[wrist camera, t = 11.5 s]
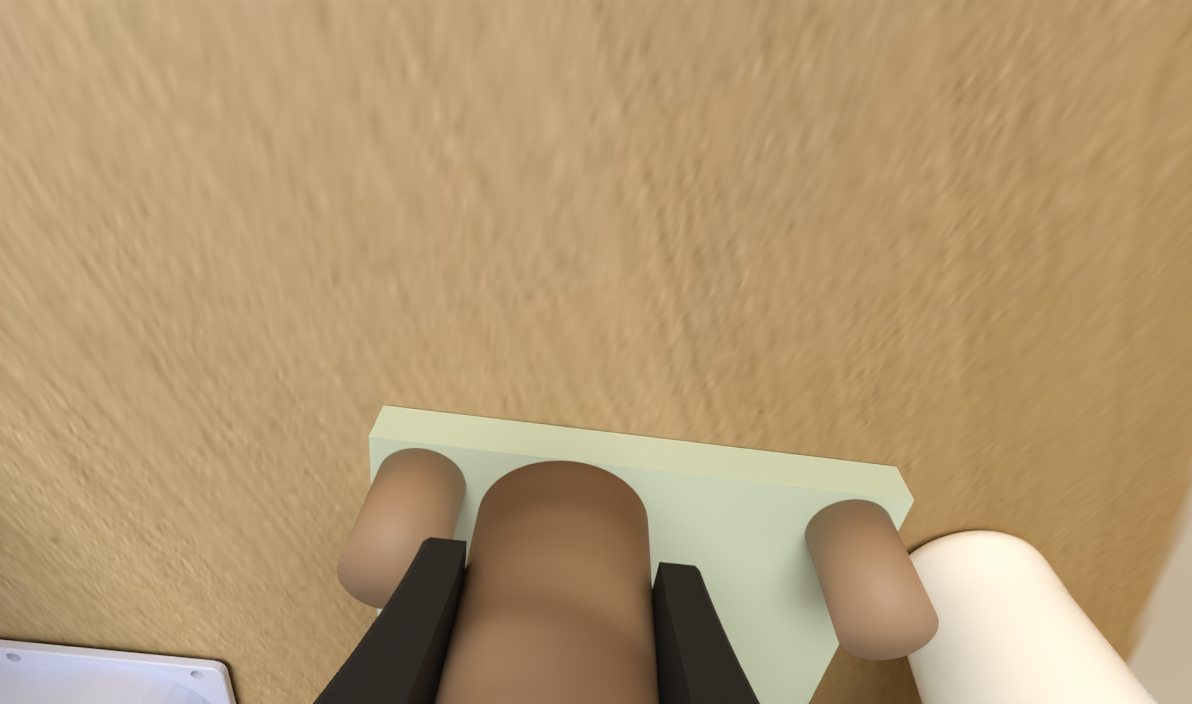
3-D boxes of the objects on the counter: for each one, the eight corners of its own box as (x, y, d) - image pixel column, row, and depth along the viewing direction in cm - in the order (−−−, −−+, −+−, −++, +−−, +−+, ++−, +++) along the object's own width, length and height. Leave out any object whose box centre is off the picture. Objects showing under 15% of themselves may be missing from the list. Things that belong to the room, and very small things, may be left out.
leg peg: (495, 586, 14) (419, 1025, 8) (460, 467, 12) (336, 920, 7) (653, 576, 14) (683, 1023, 8) (640, 454, 12) (666, 914, 6)
